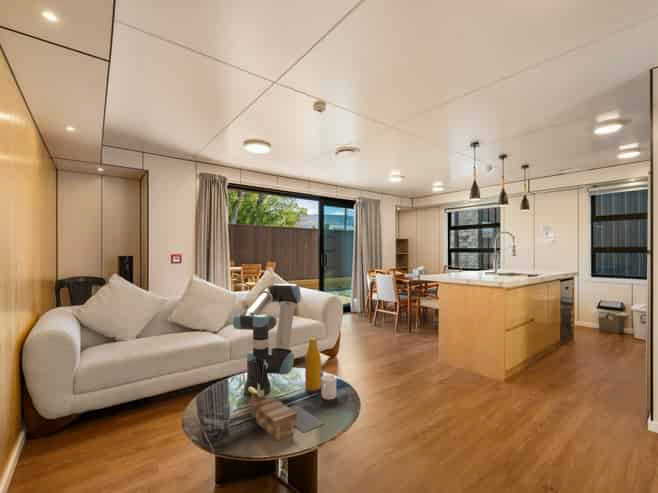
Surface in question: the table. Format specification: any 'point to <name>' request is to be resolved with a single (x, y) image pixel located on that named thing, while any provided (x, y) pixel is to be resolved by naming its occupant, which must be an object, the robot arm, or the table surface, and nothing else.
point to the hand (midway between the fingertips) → (260, 395)
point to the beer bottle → (312, 366)
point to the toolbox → (277, 432)
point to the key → (253, 391)
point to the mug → (328, 387)
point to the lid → (274, 412)
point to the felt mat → (305, 420)
